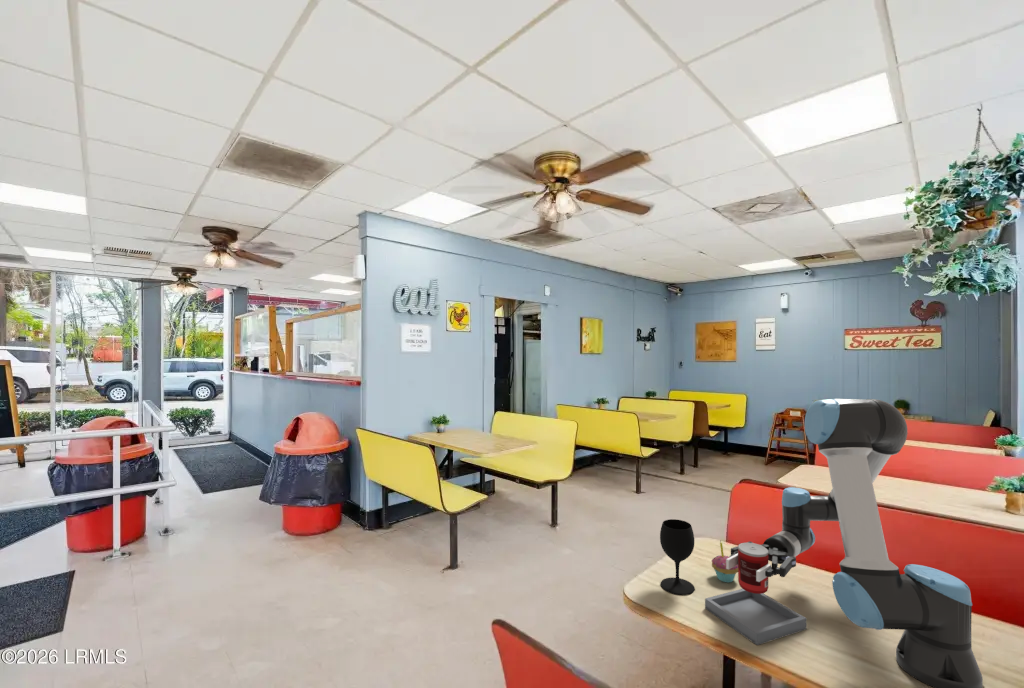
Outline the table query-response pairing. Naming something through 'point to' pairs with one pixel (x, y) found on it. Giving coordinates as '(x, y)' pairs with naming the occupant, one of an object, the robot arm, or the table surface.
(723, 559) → the cupcake
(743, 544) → the canned food
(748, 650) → the table surface
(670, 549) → the wine glass
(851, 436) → the robot arm
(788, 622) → the tray
